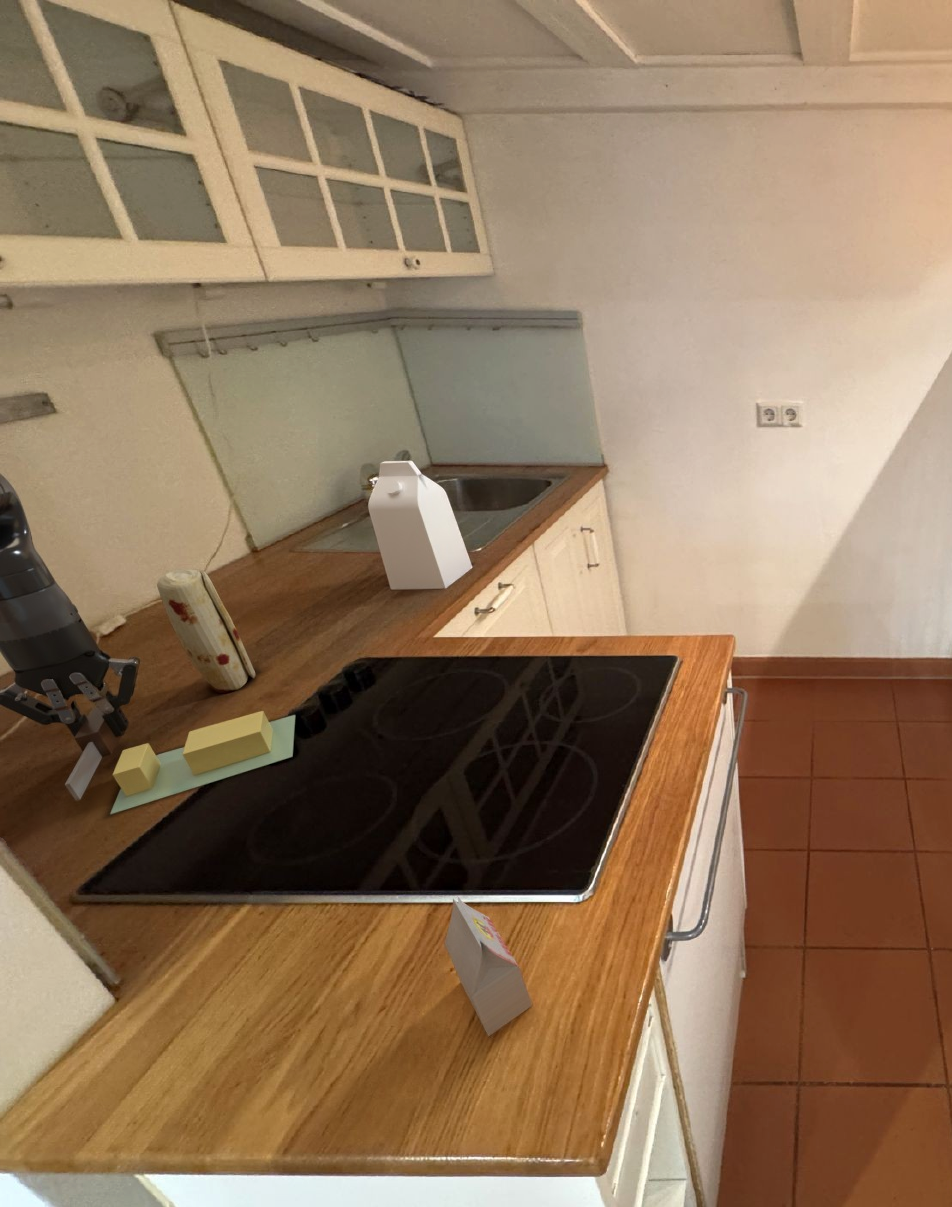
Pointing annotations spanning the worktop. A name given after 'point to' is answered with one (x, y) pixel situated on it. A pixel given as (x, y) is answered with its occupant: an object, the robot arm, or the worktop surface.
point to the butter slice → (136, 769)
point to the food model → (205, 629)
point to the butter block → (228, 742)
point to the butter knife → (90, 751)
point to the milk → (416, 529)
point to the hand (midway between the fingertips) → (107, 736)
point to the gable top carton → (485, 968)
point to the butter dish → (180, 777)
